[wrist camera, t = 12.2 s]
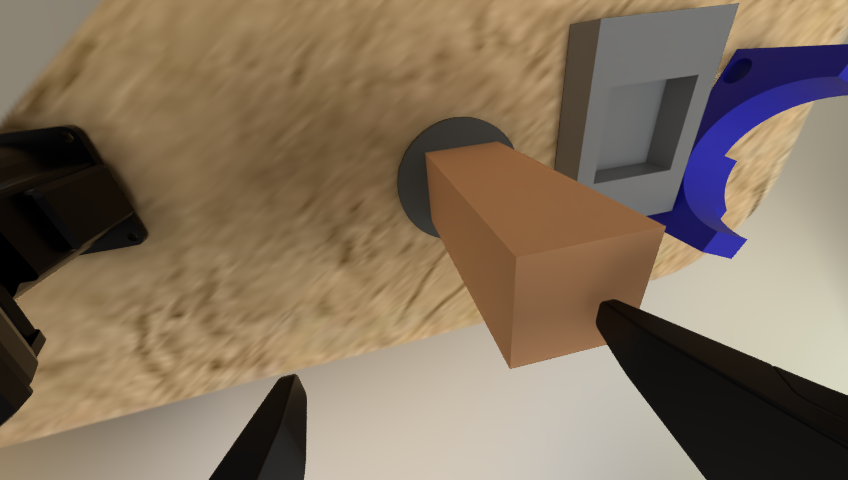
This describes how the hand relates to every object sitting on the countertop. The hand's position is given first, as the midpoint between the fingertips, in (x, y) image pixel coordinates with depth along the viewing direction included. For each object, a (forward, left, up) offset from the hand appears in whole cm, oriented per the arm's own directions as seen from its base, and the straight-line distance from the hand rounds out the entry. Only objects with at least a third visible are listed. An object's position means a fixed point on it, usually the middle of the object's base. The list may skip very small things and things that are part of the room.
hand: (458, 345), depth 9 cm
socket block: (+15, +2, -13) cm, 20 cm away
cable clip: (+23, -1, -13) cm, 26 cm away
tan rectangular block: (+4, 0, -12) cm, 13 cm away
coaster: (+4, 0, -13) cm, 14 cm away
